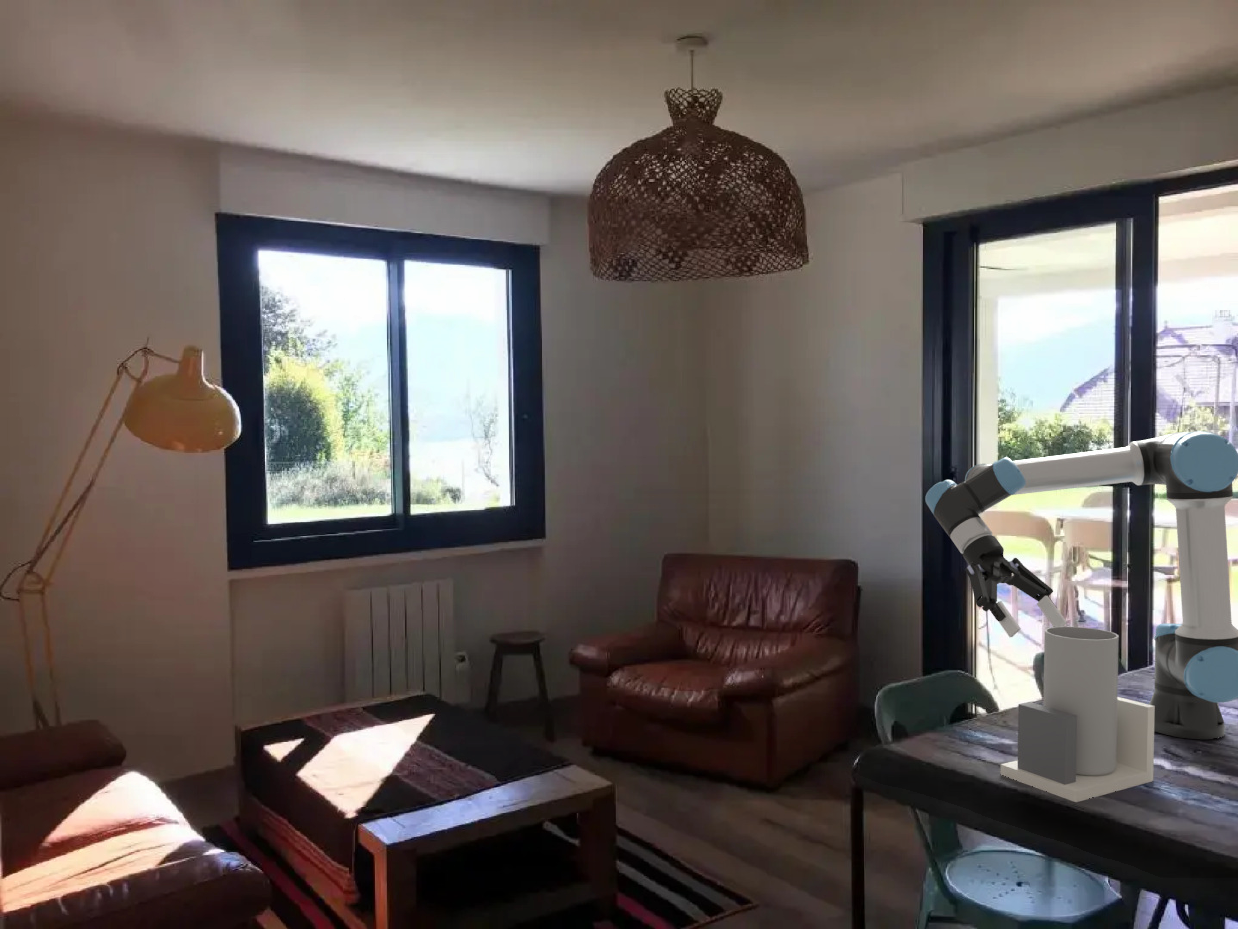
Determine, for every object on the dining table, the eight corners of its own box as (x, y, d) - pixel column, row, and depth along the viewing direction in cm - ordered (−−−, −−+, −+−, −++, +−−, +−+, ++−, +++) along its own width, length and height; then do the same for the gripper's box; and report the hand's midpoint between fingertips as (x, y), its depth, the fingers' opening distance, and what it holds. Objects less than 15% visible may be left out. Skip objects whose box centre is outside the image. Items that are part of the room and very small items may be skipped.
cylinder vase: (1028, 761, 189) (1030, 630, 188) (1072, 751, 195) (1074, 624, 194) (1085, 781, 178) (1088, 642, 177) (1131, 770, 184) (1133, 636, 183)
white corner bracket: (1076, 756, 198) (1077, 686, 198) (1153, 781, 184) (1154, 706, 184) (1000, 774, 187) (1001, 701, 187) (1076, 802, 173) (1077, 722, 173)
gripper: (1007, 552, 215) (1068, 634, 202) (924, 560, 202) (983, 647, 190) (1029, 530, 210) (1092, 612, 197) (945, 536, 197) (1006, 624, 185)
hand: (1039, 629), depth 193 cm, fingers open, 13 cm apart
